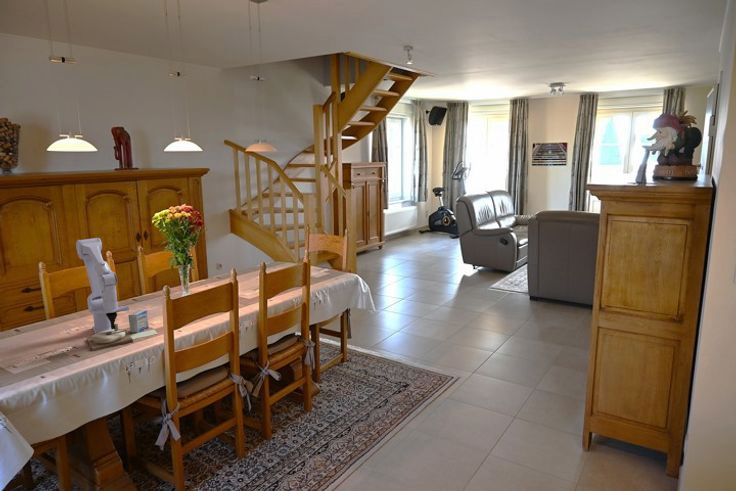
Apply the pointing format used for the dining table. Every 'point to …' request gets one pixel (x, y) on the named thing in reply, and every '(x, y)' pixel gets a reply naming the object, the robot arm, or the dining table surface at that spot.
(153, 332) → the mat
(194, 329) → the dining table surface
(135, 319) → the medicine box
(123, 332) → the index wheel
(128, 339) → the base board
